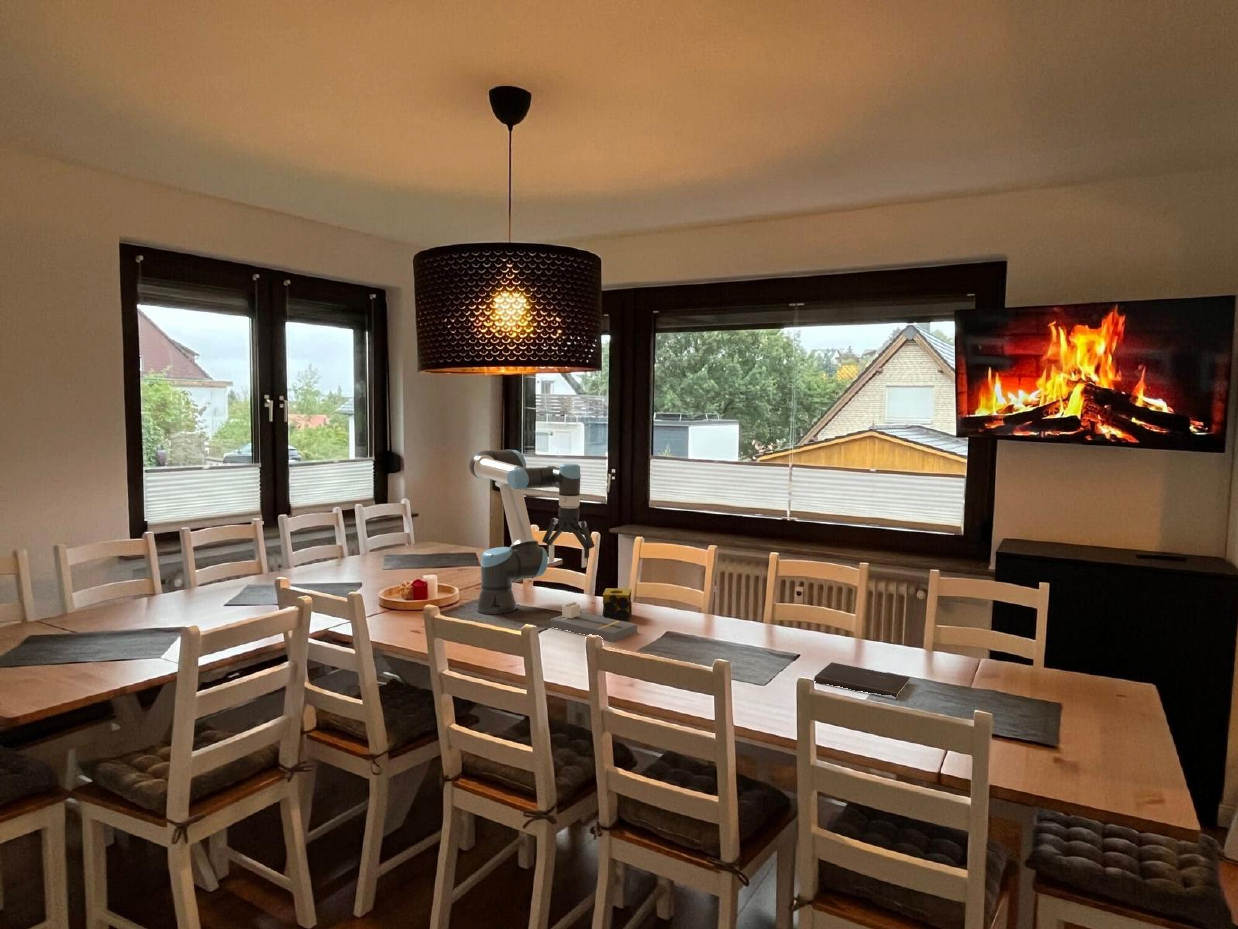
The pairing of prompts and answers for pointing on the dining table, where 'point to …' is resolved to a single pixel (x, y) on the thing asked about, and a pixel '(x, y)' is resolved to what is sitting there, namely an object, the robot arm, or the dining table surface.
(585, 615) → the fader board
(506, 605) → the robot arm
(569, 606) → the fader tab
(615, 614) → the candle
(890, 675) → the hardcover book
